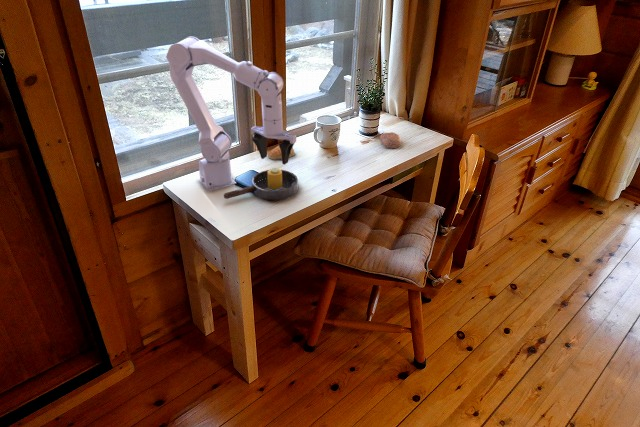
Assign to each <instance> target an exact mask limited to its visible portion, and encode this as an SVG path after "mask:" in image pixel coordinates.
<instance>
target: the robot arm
mask: <svg viewBox="0 0 640 427" xmlns="http://www.w3.org/2000/svg"><path fill="white" fill-rule="evenodd" d="M165 58H166V60H167V61H168V68H169V77H170V79H171V81H172V83H173V84H174V86H175V88H176V90H177V92H178V94H179V96H180V98H181V100H182V101H183V103H184V105H185V107H186V109H187V111H188V113H189V115H190V117H191V119H192V121H193V122H194V124H195V126H196V128H197V129H198V133H199V135H198V144H199V146H200V153H201V155H202V157H203V158H202V159H200V160H199V161H198V171H199V181H200V183H201V184H202V185H203V187H205V189H206V190H207V191H212V190H217V189H221V188H225V187H229V186H233V185H237V182H236V180H235V179H234V178H233V176H232V168H231V158H230V155H231V154H230V149H231V147H232V144H233V141H232V138H231V136H230V135H229V134H228V133H227V132H226V131H225V129H224V128H223V126H221V125H219V124H217V123H216V121H215V119H214V118H213V115H212V113H211V111H210V110H209V107H208V105H207V103H206V101H205V99H204V98H203V96H202V95H203V94H202V93H201V91H200V89H199V88H198V85H197V83H196V82H195V79H194V78H193V75H192V74H193V71H194V69H195V66H196V65H200V64H205V63H206V64H209V65H211V66H213V67H217V69H220V70H222V71H225V72H227V73H230V74H232V75H233V77H234V79H235V81H236V82H238V83H240V84H242V85H244V86H246V87H249V88H250V89H252V90H254V91H256V92H257V93H258V95H259V96H260V98H261V100H260V101H261V117H262V126H257V125H254V126H252V127H251V128H250V134H251V135H253V137H251V141H253V143H254V144H255V147H256V148H257V151H258V153H259V155H260V156H259V157H260V158H261V160H264V159H266V158H268V139H272V140H274V139H275V140H278V141H282V142H280V143H278V146H279V147H280V149H281V154H282V159H281V163H282V165H287V164H288V163H289V160H290V157H289V155H290V152H291V149H292V147H293V148H294V145H295V143H297V135H296V134H293V133H290V132H288V131H286V130H284V125H283V124H284V121H283V101H282V90H283V88H284V86H285V83H284V79H283V78H282V76H281V75H280V74H279V73H277V72H276V71H271V72H269V71H268V70H266V69H264V70H263V69H262V68H259V67H257V66H256V65H254V64H253V62H252V61H251V60H247V61H245V60H243V61H240V62H238V61H236V60H235V59H234V58H231V57H229V55H228V56H227V55H226V54H224V53H222V52H220V51H219V50H217V49H216V48H214V47H212V46H210V45H209V44H208V43H207V42H206V41H205V40H203V39H202V40H201V39H199V38H198V37H196V36H191V35H190V36H186V37H185V38H184V39H182V40H179V41H178V42H176V43H173V44H171V45H170V46H169V48H168V50H167V52H166V56H165Z"/></svg>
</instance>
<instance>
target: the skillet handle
mask: <svg viewBox="0 0 640 427" xmlns="http://www.w3.org/2000/svg"><path fill="white" fill-rule="evenodd" d="M254 191H256V188H255V186H252V185H251V186H246V187H243V188H239V189H235V190H232V191H231V190H230V191H228V192H224V194H223V198H224V199H225V200H228V199H232V198H236V197H240V196H243V195H247V194H250V193H253V192H254Z"/></svg>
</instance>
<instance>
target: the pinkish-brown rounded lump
mask: <svg viewBox="0 0 640 427" xmlns="http://www.w3.org/2000/svg"><path fill="white" fill-rule="evenodd" d="M379 140H380V143H381V144H382V145H383V146H384V147H385V148H389V149H397V148H399V147H400V146H401V144H402V138H401V137H400V135H399V134H397V133H395V132H384V133H382V134H380V136H379Z"/></svg>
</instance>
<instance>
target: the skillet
mask: <svg viewBox="0 0 640 427" xmlns="http://www.w3.org/2000/svg"><path fill="white" fill-rule="evenodd" d="M268 170H269V169H266V170H263V171H260V172H258V173H256V174H255V175H253V177H252V180H251V186H255V188H256V191H254V192H252V193H253V194H254V195H255V196H256V197H257V198H260V199H262V200H265V201H275V202H277V201H283V200H288V199H290V198H291V197H294V196H295V195H296V194H297V193H298V189H299V179H298V176H297V175H296V174H295V173H293V172H291V171H289V170H284V169H280V170H281V171H282V190H279V191H269V190H268ZM265 178H266V179H265ZM262 179H263V180H262ZM260 180H261V181H260ZM258 181H259V182H258ZM255 183H256V184H255Z"/></svg>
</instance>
